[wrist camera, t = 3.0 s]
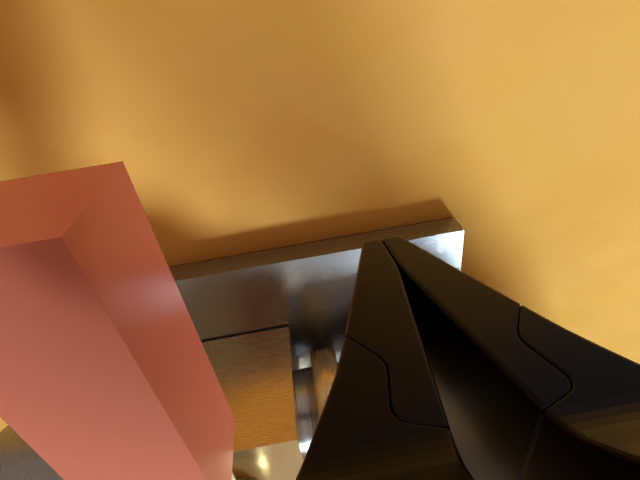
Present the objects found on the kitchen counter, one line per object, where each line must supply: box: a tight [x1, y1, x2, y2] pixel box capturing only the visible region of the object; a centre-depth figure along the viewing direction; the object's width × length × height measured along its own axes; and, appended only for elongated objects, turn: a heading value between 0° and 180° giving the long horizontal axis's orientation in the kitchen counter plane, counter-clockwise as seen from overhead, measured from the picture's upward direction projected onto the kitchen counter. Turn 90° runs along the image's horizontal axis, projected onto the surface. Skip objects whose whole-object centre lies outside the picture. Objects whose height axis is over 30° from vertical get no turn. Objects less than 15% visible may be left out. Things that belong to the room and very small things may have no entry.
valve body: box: [0, 217, 464, 480], centre depth 19 cm, size 24×14×8 cm, turn 97°
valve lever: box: [0, 161, 236, 480], centre depth 11 cm, size 16×3×3 cm, turn 7°
